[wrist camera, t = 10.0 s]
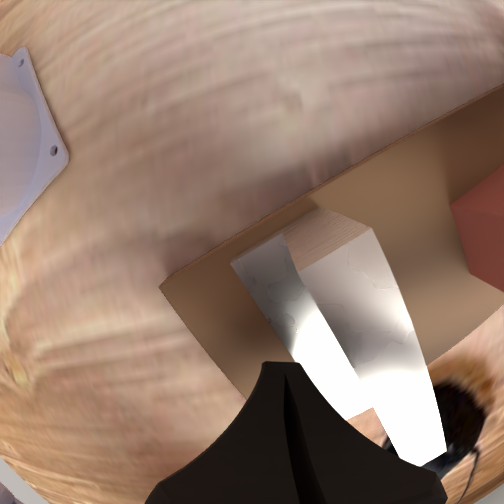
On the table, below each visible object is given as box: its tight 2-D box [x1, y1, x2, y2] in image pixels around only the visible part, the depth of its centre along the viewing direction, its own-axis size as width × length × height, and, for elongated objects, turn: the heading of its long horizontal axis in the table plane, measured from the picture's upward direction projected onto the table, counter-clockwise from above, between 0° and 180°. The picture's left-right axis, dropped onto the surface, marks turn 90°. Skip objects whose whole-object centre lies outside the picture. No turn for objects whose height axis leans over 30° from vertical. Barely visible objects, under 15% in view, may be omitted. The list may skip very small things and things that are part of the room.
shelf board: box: [159, 84, 504, 400], centre depth 10 cm, size 10×28×1 cm, turn 122°
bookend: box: [230, 206, 446, 466], centre depth 9 cm, size 9×4×5 cm, turn 32°
